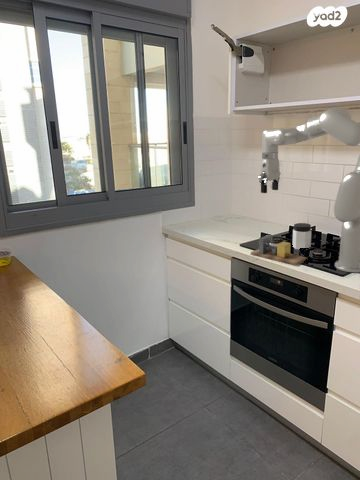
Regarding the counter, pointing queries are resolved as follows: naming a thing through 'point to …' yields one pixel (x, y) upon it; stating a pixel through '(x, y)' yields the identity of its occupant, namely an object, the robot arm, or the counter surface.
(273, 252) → the cradle
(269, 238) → the grey arch
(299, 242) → the jar
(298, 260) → the board
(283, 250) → the hook rod
